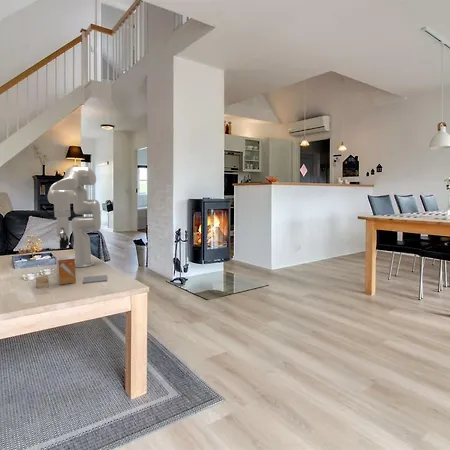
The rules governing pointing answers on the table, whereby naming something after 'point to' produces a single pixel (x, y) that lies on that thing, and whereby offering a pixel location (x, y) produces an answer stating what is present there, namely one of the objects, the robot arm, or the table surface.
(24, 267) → the table surface
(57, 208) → the robot arm
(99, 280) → the felt mat
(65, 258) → the small box
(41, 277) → the oak block
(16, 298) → the table surface
